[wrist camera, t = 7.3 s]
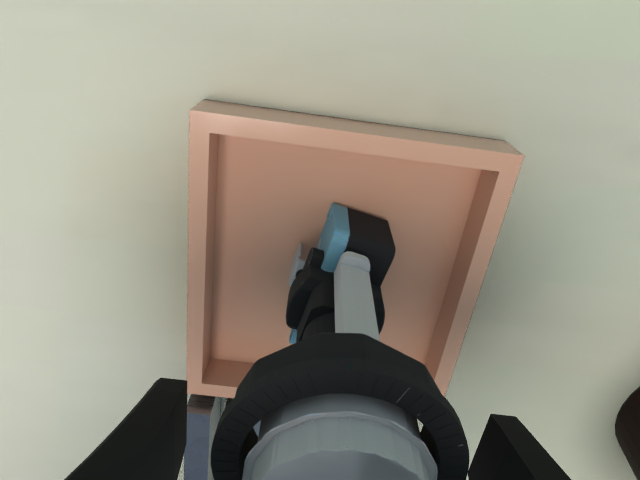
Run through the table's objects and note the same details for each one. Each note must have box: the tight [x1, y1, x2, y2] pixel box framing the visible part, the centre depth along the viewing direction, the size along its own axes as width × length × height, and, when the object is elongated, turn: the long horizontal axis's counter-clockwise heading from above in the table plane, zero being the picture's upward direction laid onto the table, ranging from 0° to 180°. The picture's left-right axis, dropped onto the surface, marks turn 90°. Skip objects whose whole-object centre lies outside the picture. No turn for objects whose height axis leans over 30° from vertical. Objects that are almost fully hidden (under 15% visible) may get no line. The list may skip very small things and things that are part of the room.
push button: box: [211, 203, 469, 480], centre depth 14 cm, size 7×5×10 cm
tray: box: [186, 99, 524, 398], centre depth 18 cm, size 10×11×2 cm
